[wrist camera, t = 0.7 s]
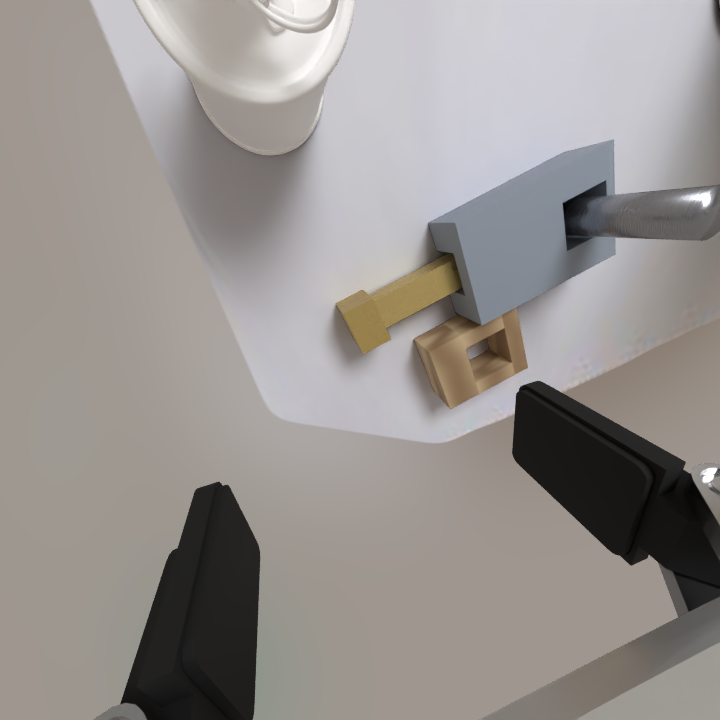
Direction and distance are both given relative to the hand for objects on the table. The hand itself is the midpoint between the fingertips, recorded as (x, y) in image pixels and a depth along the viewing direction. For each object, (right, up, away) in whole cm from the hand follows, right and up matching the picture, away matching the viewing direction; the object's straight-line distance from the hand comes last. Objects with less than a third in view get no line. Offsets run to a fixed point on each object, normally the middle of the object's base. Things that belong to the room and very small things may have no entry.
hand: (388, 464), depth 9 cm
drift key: (+3, +10, +22) cm, 24 cm away
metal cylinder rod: (+18, +18, +22) cm, 34 cm away
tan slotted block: (+12, +5, +26) cm, 29 cm away
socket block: (+14, +16, +22) cm, 31 cm away
